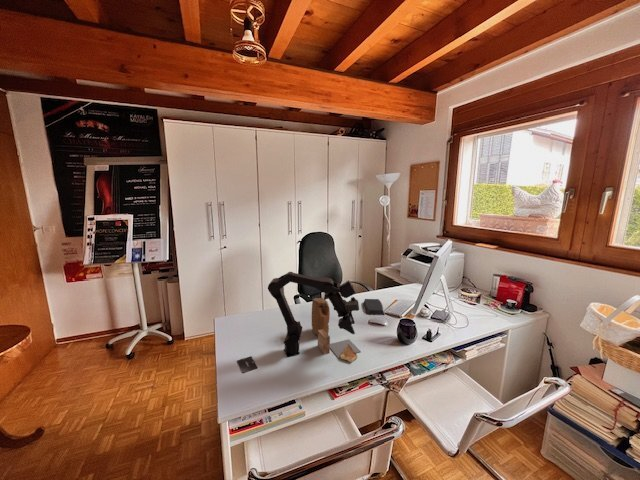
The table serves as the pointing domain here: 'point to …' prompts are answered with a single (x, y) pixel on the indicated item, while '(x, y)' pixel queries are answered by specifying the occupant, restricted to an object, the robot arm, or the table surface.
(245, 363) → the solid state drive
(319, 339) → the slab
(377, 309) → the external hard drive
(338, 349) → the mat
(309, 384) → the table surface
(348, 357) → the shard
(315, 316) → the brown oblong lump
